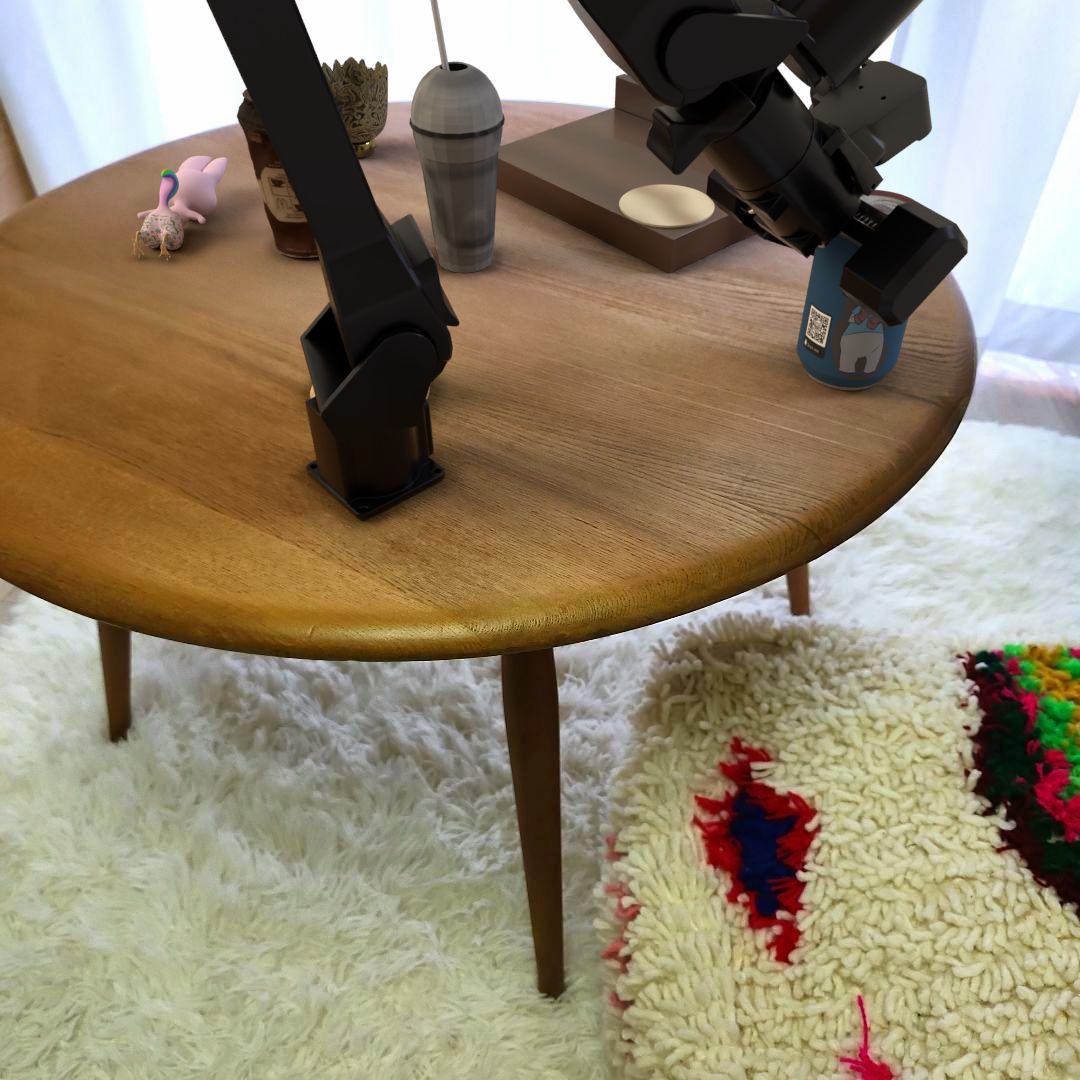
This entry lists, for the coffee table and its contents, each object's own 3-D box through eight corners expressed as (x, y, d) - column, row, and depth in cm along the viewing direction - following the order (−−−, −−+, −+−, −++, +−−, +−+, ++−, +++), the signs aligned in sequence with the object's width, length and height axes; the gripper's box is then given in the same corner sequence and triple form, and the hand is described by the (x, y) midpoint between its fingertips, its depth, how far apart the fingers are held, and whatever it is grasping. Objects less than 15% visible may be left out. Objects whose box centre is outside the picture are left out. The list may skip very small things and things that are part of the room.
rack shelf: (669, 273, 84) (675, 203, 80) (485, 182, 97) (482, 118, 93) (807, 209, 93) (819, 143, 88) (621, 134, 106) (624, 73, 102)
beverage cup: (498, 284, 83) (487, 16, 69) (411, 276, 84) (384, 10, 70) (517, 243, 88) (511, -14, 74) (435, 236, 89) (415, -18, 76)
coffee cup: (373, 257, 86) (353, 98, 77) (275, 275, 84) (242, 114, 75) (348, 215, 92) (327, 63, 83) (255, 231, 90) (224, 76, 81)
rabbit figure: (192, 276, 87) (254, 176, 96) (170, 215, 82) (236, 116, 91) (124, 270, 88) (191, 172, 97) (97, 209, 83) (171, 112, 92)
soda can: (847, 333, 77) (882, 177, 69) (913, 378, 72) (959, 216, 64) (773, 358, 74) (801, 199, 66) (838, 406, 70) (876, 242, 62)
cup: (411, 148, 103) (403, 64, 98) (364, 173, 99) (353, 88, 94) (354, 133, 106) (343, 52, 101) (306, 157, 102) (292, 73, 96)
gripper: (992, 76, 50) (1078, 240, 61) (768, -17, 62) (873, 134, 73) (832, 259, 53) (942, 385, 64) (648, 135, 65) (766, 259, 76)
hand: (878, 280), depth 69 cm, fingers closed on soda can, 7 cm apart
